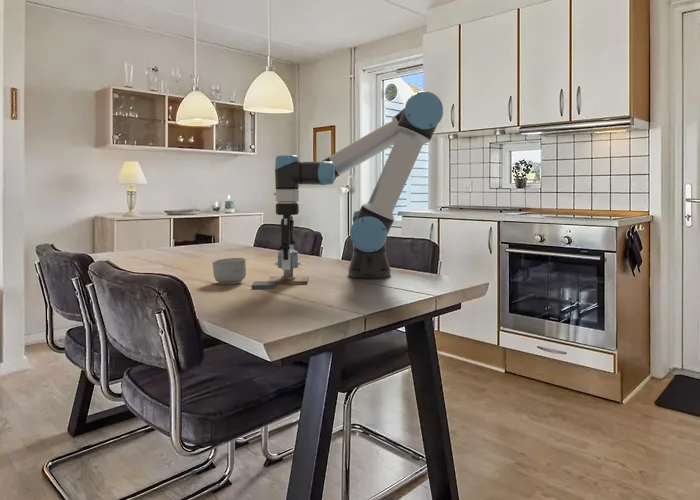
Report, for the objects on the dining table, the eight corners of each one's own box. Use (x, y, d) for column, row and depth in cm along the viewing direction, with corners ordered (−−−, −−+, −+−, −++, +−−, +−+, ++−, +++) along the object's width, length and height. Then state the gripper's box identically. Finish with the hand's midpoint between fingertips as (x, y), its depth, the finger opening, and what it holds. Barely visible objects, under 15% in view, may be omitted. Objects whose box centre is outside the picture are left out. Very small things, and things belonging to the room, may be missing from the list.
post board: (308, 279, 185) (308, 253, 184) (307, 284, 175) (306, 257, 174) (270, 279, 184) (270, 253, 183) (267, 284, 175) (266, 257, 174)
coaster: (276, 284, 175) (276, 281, 175) (274, 288, 168) (274, 285, 168) (255, 284, 174) (254, 281, 174) (251, 289, 168) (251, 285, 167)
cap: (301, 265, 182) (301, 248, 182) (300, 268, 176) (299, 251, 175) (276, 265, 182) (276, 248, 182) (274, 268, 176) (274, 251, 175)
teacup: (238, 286, 171) (237, 262, 170) (207, 285, 173) (206, 261, 172) (254, 279, 185) (254, 256, 184) (225, 278, 187) (224, 255, 186)
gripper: (279, 201, 189) (280, 261, 191) (271, 204, 164) (272, 272, 167) (300, 201, 189) (301, 260, 192) (295, 204, 164) (296, 272, 167)
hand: (287, 266), depth 179 cm, fingers open, 13 cm apart
